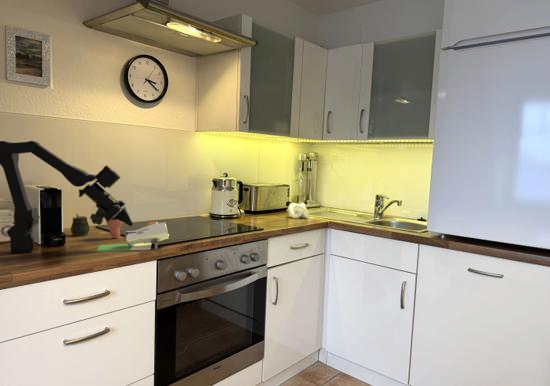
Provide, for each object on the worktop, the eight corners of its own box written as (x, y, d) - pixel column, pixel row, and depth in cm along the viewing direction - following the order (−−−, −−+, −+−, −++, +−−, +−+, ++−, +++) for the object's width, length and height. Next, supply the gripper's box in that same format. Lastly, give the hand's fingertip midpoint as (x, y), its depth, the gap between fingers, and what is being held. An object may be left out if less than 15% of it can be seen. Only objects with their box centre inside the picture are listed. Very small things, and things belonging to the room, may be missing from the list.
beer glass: (124, 227, 146) (164, 218, 149) (128, 234, 152) (166, 226, 155) (126, 243, 142) (167, 234, 146) (130, 250, 148) (169, 241, 152)
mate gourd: (90, 233, 173) (89, 211, 172) (88, 236, 166) (88, 213, 165) (72, 234, 170) (71, 211, 169) (69, 237, 163) (69, 214, 162)
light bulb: (103, 237, 163) (102, 210, 162) (119, 235, 168) (119, 208, 167) (109, 240, 158) (109, 211, 157) (126, 238, 163) (126, 210, 162)
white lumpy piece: (312, 217, 235) (313, 203, 234) (300, 219, 226) (300, 204, 225) (297, 215, 242) (298, 201, 241) (285, 217, 233) (286, 203, 232)
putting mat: (95, 251, 140) (95, 227, 139) (100, 245, 149) (99, 222, 148) (157, 249, 146) (157, 225, 145) (157, 243, 155) (157, 221, 154)
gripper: (88, 208, 151) (118, 235, 155) (78, 215, 133) (113, 245, 137) (109, 189, 152) (139, 216, 156) (102, 193, 134) (136, 223, 139)
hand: (132, 225), depth 147 cm, fingers closed
